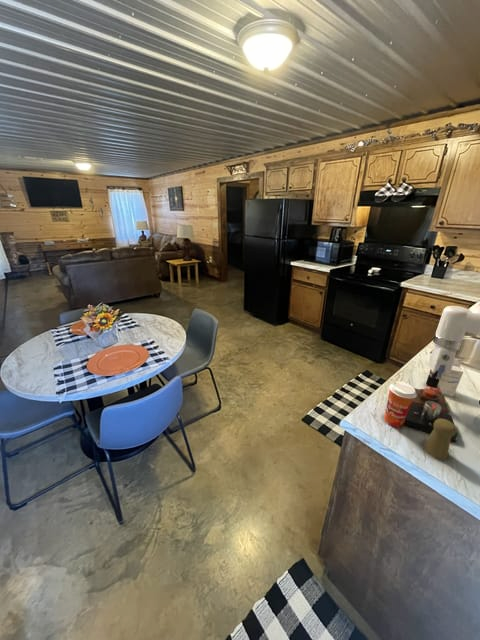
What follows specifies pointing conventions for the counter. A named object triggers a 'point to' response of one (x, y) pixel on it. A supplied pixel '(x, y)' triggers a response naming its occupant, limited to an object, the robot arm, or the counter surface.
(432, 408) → the knob
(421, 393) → the button block
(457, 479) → the counter surface
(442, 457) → the cork
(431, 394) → the button
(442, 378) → the ink cartridge box
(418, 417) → the panel
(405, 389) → the paper cup
